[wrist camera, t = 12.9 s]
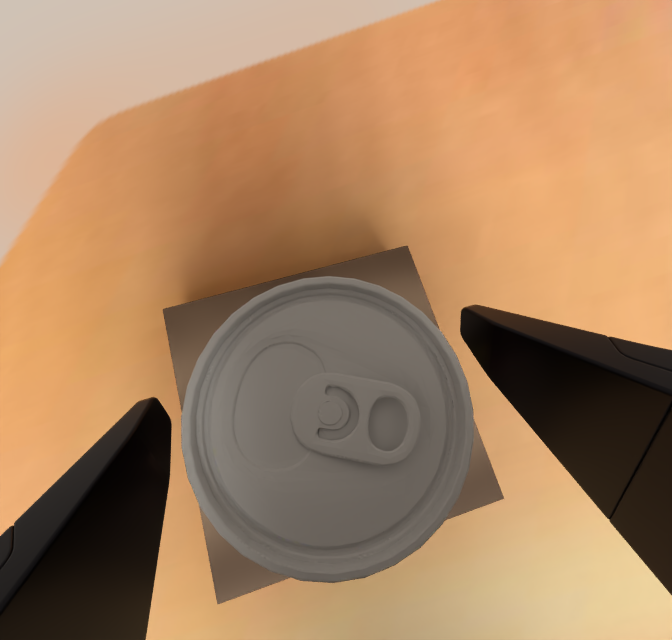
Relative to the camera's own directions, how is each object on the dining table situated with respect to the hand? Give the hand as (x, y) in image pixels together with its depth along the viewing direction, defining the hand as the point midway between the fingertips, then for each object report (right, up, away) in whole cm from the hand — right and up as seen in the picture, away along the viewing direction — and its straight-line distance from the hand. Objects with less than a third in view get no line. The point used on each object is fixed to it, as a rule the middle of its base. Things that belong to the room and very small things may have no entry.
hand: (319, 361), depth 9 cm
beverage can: (0, -3, +7) cm, 8 cm away
